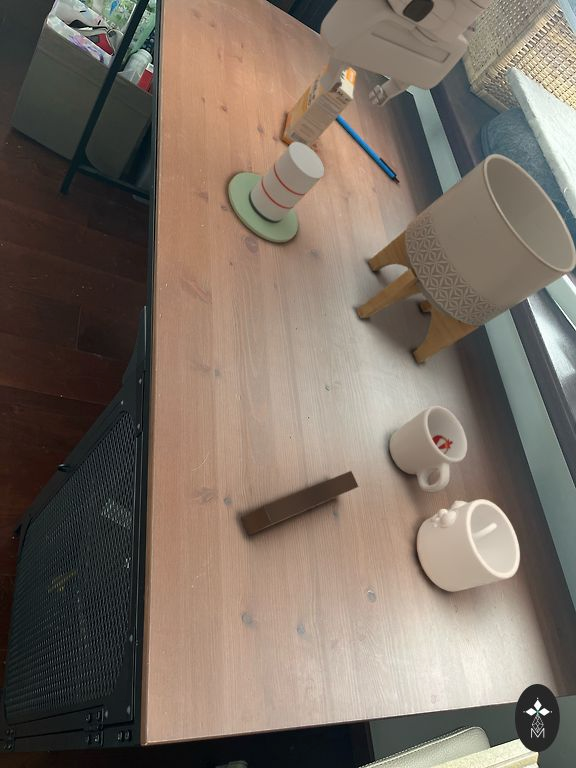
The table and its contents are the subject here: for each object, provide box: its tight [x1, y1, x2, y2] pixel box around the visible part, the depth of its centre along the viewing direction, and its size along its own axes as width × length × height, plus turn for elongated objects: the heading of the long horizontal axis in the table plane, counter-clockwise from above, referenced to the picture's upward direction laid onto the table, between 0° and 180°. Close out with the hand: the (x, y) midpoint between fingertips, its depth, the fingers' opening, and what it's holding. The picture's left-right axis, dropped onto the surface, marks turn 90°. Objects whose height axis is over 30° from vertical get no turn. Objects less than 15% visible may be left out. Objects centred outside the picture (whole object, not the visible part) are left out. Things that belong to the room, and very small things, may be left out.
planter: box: [356, 153, 576, 363], centre depth 91 cm, size 19×19×26 cm
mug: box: [416, 498, 521, 592], centre depth 79 cm, size 12×10×9 cm
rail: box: [240, 470, 359, 536], centre depth 68 cm, size 14×2×4 cm, turn 120°
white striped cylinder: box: [249, 142, 325, 223], centre depth 87 cm, size 6×11×11 cm
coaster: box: [227, 171, 299, 243], centre depth 91 cm, size 12×12×1 cm
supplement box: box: [281, 62, 357, 148], centre depth 101 cm, size 8×5×13 cm, turn 171°
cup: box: [389, 405, 468, 493], centre depth 82 cm, size 11×8×8 cm
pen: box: [335, 114, 401, 184], centre depth 118 cm, size 1×19×1 cm, turn 62°
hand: (350, 95), depth 75 cm, fingers open, 8 cm apart
